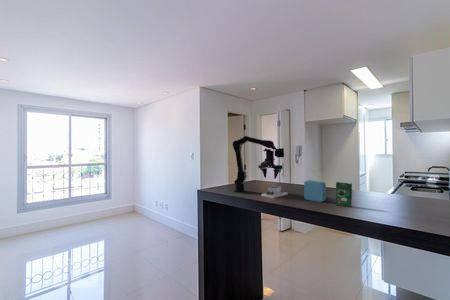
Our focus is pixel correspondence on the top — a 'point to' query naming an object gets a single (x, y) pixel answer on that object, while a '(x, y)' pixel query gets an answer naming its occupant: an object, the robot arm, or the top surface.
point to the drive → (274, 190)
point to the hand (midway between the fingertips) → (270, 178)
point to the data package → (315, 190)
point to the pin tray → (274, 195)
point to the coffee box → (344, 194)
